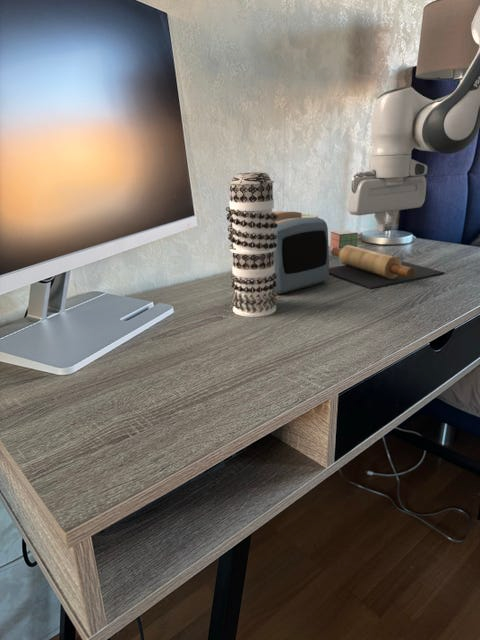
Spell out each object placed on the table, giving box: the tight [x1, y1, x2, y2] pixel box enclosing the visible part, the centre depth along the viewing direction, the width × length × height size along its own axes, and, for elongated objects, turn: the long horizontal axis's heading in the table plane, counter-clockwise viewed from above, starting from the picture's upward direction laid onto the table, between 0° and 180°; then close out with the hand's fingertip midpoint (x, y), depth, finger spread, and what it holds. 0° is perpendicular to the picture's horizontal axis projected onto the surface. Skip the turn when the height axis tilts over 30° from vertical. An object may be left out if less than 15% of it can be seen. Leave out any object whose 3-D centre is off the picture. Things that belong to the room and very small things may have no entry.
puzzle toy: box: [329, 229, 359, 252], centre depth 128 cm, size 6×6×6 cm
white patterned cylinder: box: [225, 171, 278, 318], centre depth 81 cm, size 9×9×25 cm
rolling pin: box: [331, 245, 414, 279], centre depth 105 cm, size 5×26×5 cm, turn 26°
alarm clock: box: [272, 211, 330, 295], centre depth 99 cm, size 16×16×16 cm
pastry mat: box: [329, 260, 445, 290], centre depth 107 cm, size 22×18×1 cm
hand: (385, 230), depth 104 cm, fingers closed
